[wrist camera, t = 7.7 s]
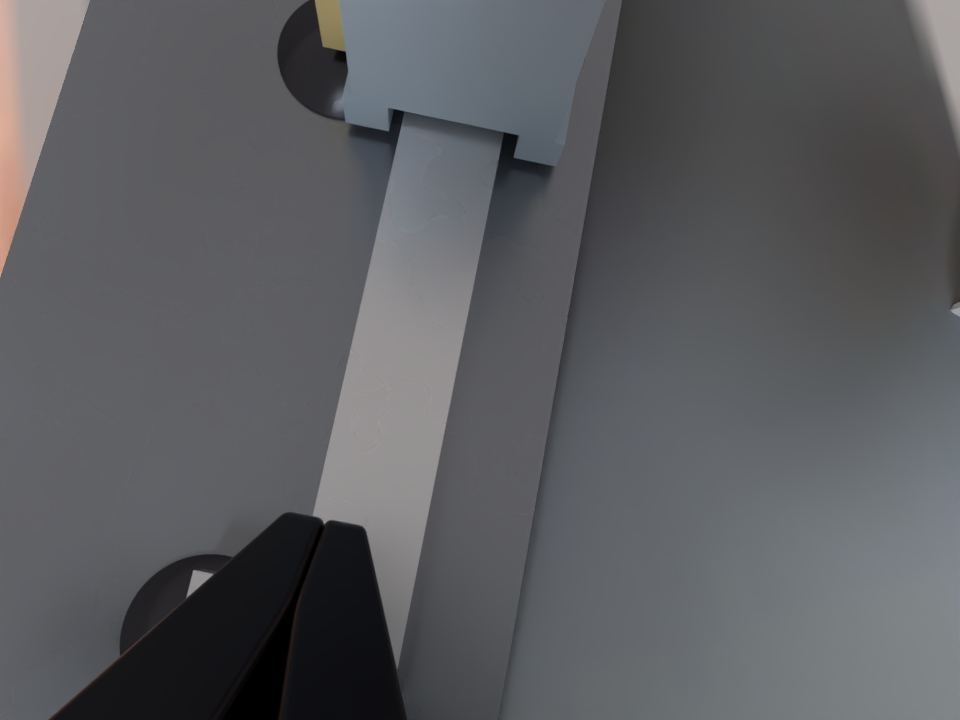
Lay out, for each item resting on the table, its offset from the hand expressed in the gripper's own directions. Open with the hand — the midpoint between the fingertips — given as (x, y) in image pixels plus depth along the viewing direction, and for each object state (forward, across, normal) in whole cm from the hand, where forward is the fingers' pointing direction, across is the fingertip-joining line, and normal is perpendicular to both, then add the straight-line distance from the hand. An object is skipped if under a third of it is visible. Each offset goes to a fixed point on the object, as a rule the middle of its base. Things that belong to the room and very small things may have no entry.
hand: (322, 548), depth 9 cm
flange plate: (+8, +2, +4) cm, 9 cm away
